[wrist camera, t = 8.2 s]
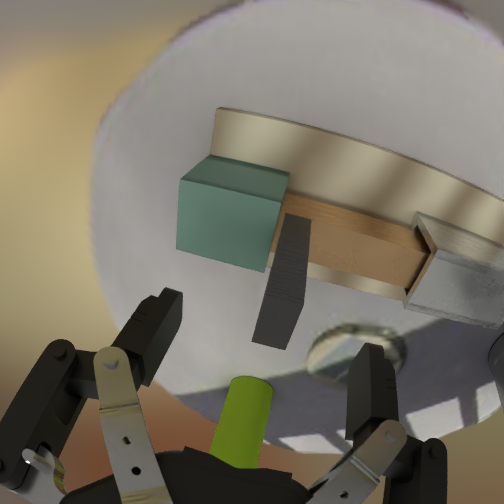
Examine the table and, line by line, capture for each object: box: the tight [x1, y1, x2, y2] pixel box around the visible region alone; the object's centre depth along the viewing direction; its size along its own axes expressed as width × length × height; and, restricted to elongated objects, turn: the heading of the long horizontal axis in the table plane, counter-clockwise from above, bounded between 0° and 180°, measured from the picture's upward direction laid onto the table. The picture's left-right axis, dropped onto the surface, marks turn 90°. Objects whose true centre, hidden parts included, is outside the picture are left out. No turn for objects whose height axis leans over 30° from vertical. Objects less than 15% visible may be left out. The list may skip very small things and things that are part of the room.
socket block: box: [176, 154, 290, 273], centre depth 21 cm, size 6×5×6 cm
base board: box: [210, 107, 504, 301], centre depth 23 cm, size 26×12×1 cm, turn 80°
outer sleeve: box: [399, 211, 504, 330], centre depth 19 cm, size 10×5×6 cm, turn 80°
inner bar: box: [251, 193, 431, 350], centre depth 17 cm, size 18×3×10 cm, turn 80°
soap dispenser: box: [209, 376, 273, 468], centre depth 31 cm, size 6×7×20 cm
